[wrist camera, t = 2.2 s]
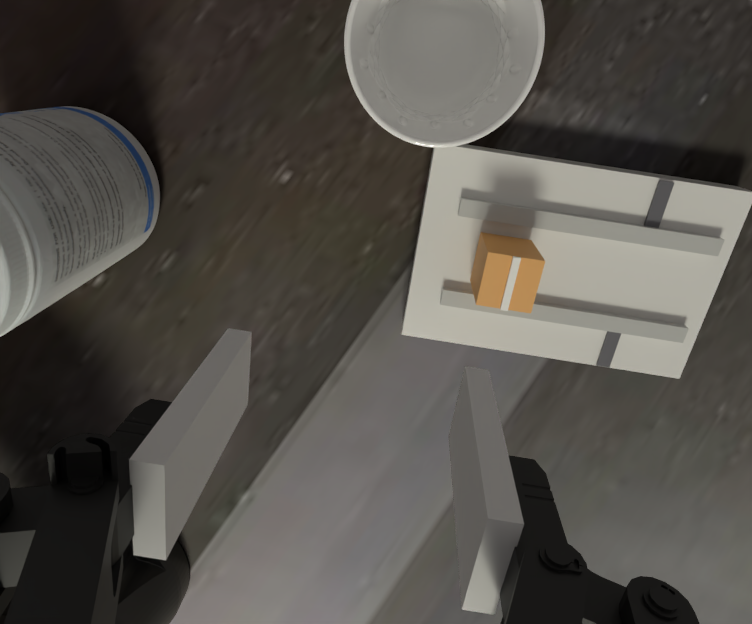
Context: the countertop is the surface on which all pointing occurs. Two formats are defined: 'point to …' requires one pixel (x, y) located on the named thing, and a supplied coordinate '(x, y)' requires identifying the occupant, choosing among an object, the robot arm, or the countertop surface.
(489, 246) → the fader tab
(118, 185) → the supplement tub
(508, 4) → the white cup
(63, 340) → the countertop surface
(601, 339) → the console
